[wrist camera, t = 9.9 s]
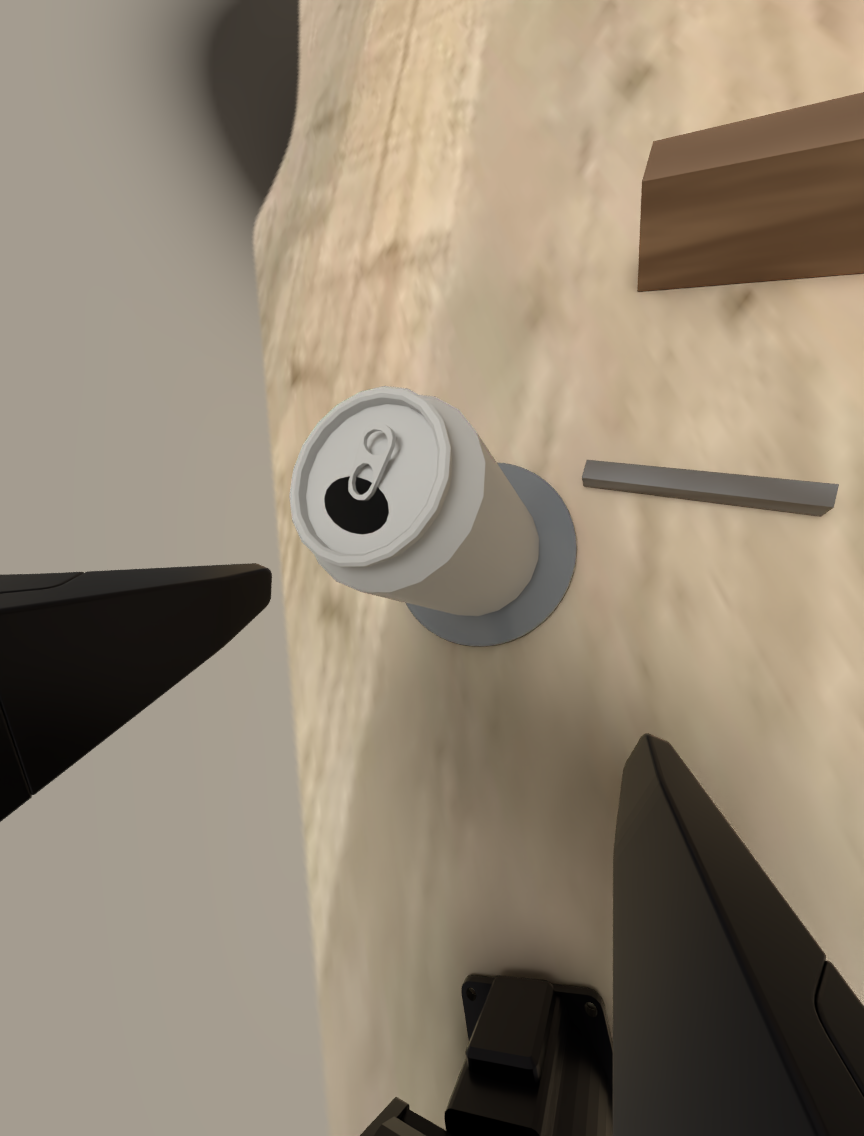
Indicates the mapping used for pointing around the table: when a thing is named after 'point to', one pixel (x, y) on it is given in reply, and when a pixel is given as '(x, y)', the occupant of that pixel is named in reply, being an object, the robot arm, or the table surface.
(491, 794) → the table surface
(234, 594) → the robot arm
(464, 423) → the can
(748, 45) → the table surface
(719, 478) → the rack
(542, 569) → the coaster
